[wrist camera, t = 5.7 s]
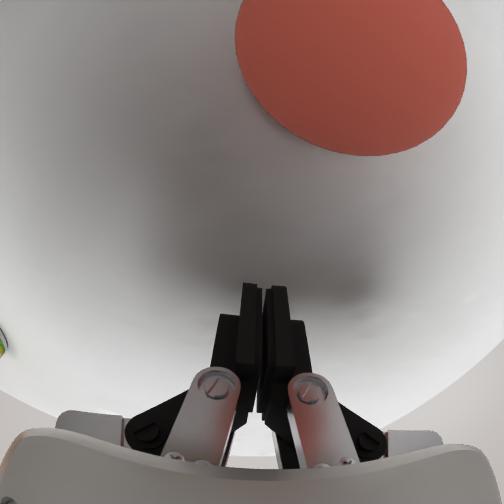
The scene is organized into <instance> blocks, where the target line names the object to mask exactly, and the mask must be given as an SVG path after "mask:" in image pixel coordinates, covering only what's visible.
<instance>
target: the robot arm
mask: <svg viewBox="0 0 504 504" xmlns="http://www.w3.org/2000/svg"><path fill="white" fill-rule="evenodd" d="M256 392H257V413H262V421H265V425H266V426H268V427H269V428H270V429H271V430H272V437H273V442H274V447H275V453H276V457H277V463H278V467H279V469H247V468H233V467H232V468H231V467H226V465H227V461H228V458H229V454H230V450H231V447H232V443H233V439H234V436H235V431H236V430H237V429H239V428H240V427H241V426H243V425H244V424H246V423H247V417H248V412H252V411H253V407H254V402H255V397H256ZM0 504H502V503H501V498H500V493H499V490H498V486H497V482H496V479H495V476H494V473H493V470H492V468H491V466H490V463H489V461H488V460H487V458H486V456H485V455H484V453H483V452H482V451H481V450H479V449H478V448H476V447H473V446H469V445H463V444H446V445H443V442H442V438H441V437H440V436H439V434H437V433H436V432H434V431H405V430H404V431H403V430H388V431H387V432H382V431H381V430H379V429H378V428H377V427H375V426H374V425H372V424H370V423H369V422H367V421H366V420H364V419H363V418H361V417H360V416H358V415H357V414H355V413H354V412H352V411H351V410H349V409H348V408H346V407H345V406H343V405H342V404H340V403H339V402H338V401H337V398H336V396H335V393H334V390H333V388H332V386H331V384H330V382H329V381H328V380H327V379H325V378H324V377H322V376H321V375H319V374H315V373H312V367H311V361H310V355H309V349H308V343H307V337H306V331H305V325H304V322H303V321H302V320H290V312H289V304H288V296H287V288H286V287H285V286H273V285H272V287H271V289H266V293H265V300H264V307H263V313H262V288H257V284H251V283H243V290H242V299H241V309H240V316H237V315H228V314H220V317H219V322H218V327H217V333H216V338H215V343H214V349H213V354H212V360H211V365H210V367H208V368H206V369H203V370H201V371H200V372H199V373H197V374H196V376H195V377H194V379H193V381H192V383H191V386H190V388H189V389H188V390H187V391H185V392H183V393H181V394H179V395H177V396H175V397H173V398H171V399H169V400H167V401H165V402H163V403H161V404H159V405H157V406H155V407H153V408H151V409H149V410H147V411H145V412H143V413H141V414H139V415H136V416H135V417H133V418H132V419H129V418H123V417H122V416H119V415H107V414H97V413H89V412H82V411H75V410H69V411H66V412H63V413H62V414H61V415H60V416H59V417H58V420H57V422H56V427H55V428H32V429H28V430H26V431H24V432H22V433H21V434H19V435H18V436H17V437H16V438H15V440H14V441H13V442H12V444H11V446H10V448H9V449H8V451H7V453H6V454H5V457H4V459H3V461H2V463H1V466H0Z"/></svg>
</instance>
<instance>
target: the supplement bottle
mask: <svg viewBox="0 0 504 504" xmlns="http://www.w3.org/2000/svg"><path fill="white" fill-rule="evenodd" d="M6 349H7V343H6V340H5V337H4V335H3V333H2V332H1V330H0V358H1V357H2V355H3V354H4V353H5V351H6Z"/></svg>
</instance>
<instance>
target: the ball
mask: <svg viewBox="0 0 504 504" xmlns="http://www.w3.org/2000/svg"><path fill="white" fill-rule="evenodd" d="M235 45H236V55H237V59H238V63H239V66H240V69H241V72H242V75H243V77H244V79H245V81H246V83H247V85H248V87H249V89H250V90H251V92H252V93H253V95H254V96H255V98H256V99H257V101H258V102H259V103H260V104H261V106H262V107H263V108H264V109H265V110H266V111H267V112H268V113H269V114H270V115H271V116H272V117H273V118H274V119H275V120H276V121H277V122H278V123H280V124H281V125H282V126H283V127H285V128H286V129H287V130H289V131H290V132H292V133H293V134H295V135H297V136H298V137H300V138H302V139H304V140H306V141H308V142H310V143H312V144H314V145H317V146H319V147H322V148H325V149H328V150H330V151H335V152H339V153H344V154H350V155H357V156H380V155H388V154H393V153H398V152H401V151H405V150H408V149H410V148H413V147H415V146H417V145H419V144H421V143H423V142H424V141H426V140H428V139H429V138H431V137H433V136H434V135H435V134H436V133H437V132H438V131H440V130H441V129H442V128H443V127H444V125H445V124H446V123H447V122H448V120H449V119H450V118H451V117H452V116H453V114H454V112H455V111H456V109H457V107H458V105H459V103H460V101H461V98H462V95H463V92H464V88H465V82H466V75H467V60H466V52H465V47H464V42H463V39H462V36H461V33H460V31H459V28H458V26H457V24H456V22H455V20H454V18H453V16H452V14H451V12H450V11H449V9H448V8H447V7H446V5H445V4H444V3H443V1H442V0H243V2H242V4H241V7H240V10H239V13H238V17H237V21H236V27H235Z"/></svg>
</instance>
